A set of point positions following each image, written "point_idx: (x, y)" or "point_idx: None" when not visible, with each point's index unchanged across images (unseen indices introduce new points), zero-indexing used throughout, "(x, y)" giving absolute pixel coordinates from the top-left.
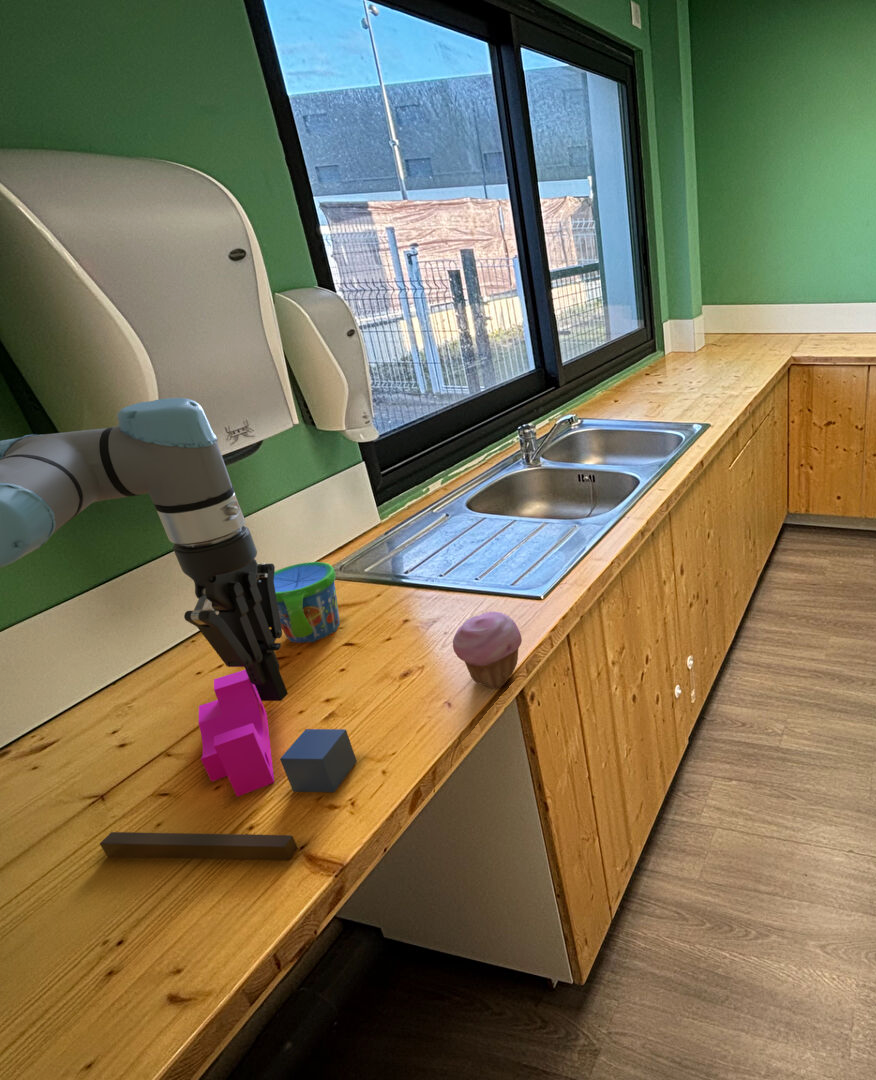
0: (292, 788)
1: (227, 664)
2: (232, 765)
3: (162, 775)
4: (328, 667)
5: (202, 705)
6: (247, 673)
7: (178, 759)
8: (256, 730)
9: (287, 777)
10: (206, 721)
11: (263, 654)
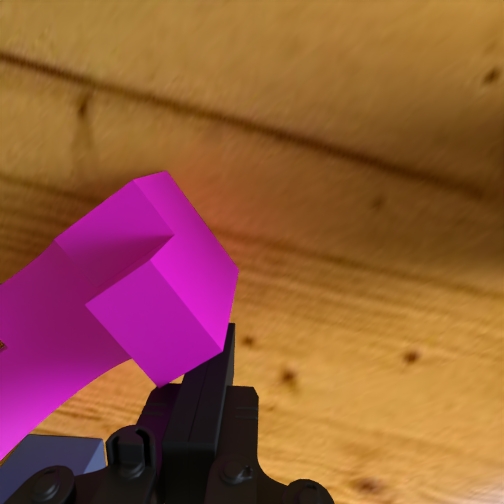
0: (22, 441)
1: (18, 496)
2: None
3: (17, 148)
4: (431, 319)
5: (136, 190)
6: (137, 422)
7: (71, 148)
8: (101, 358)
9: (3, 464)
10: (67, 255)
11: (202, 491)
